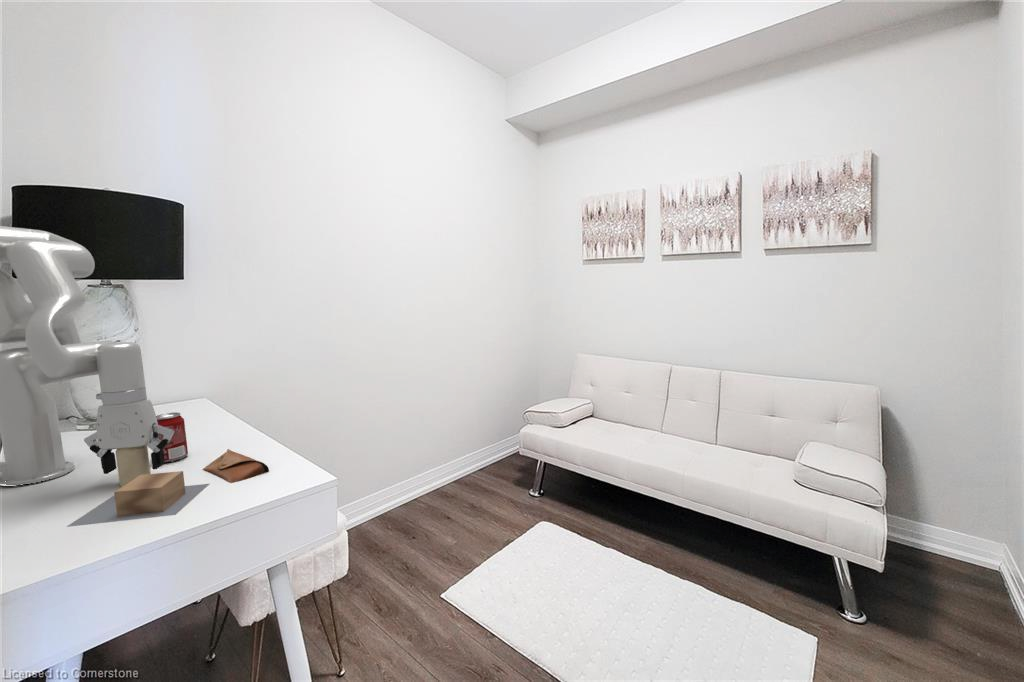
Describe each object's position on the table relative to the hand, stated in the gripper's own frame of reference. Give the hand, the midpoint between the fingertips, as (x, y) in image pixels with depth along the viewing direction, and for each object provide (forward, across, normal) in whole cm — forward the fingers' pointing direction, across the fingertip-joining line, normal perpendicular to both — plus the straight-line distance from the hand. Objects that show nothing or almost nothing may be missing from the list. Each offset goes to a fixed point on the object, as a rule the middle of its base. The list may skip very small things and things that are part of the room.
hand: (134, 469), depth 100 cm
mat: (+4, +9, -13) cm, 16 cm away
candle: (+4, 0, 0) cm, 4 cm away
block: (+3, +11, -14) cm, 18 cm away
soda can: (+4, 0, +15) cm, 15 cm away
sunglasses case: (+4, +20, +1) cm, 20 cm away
